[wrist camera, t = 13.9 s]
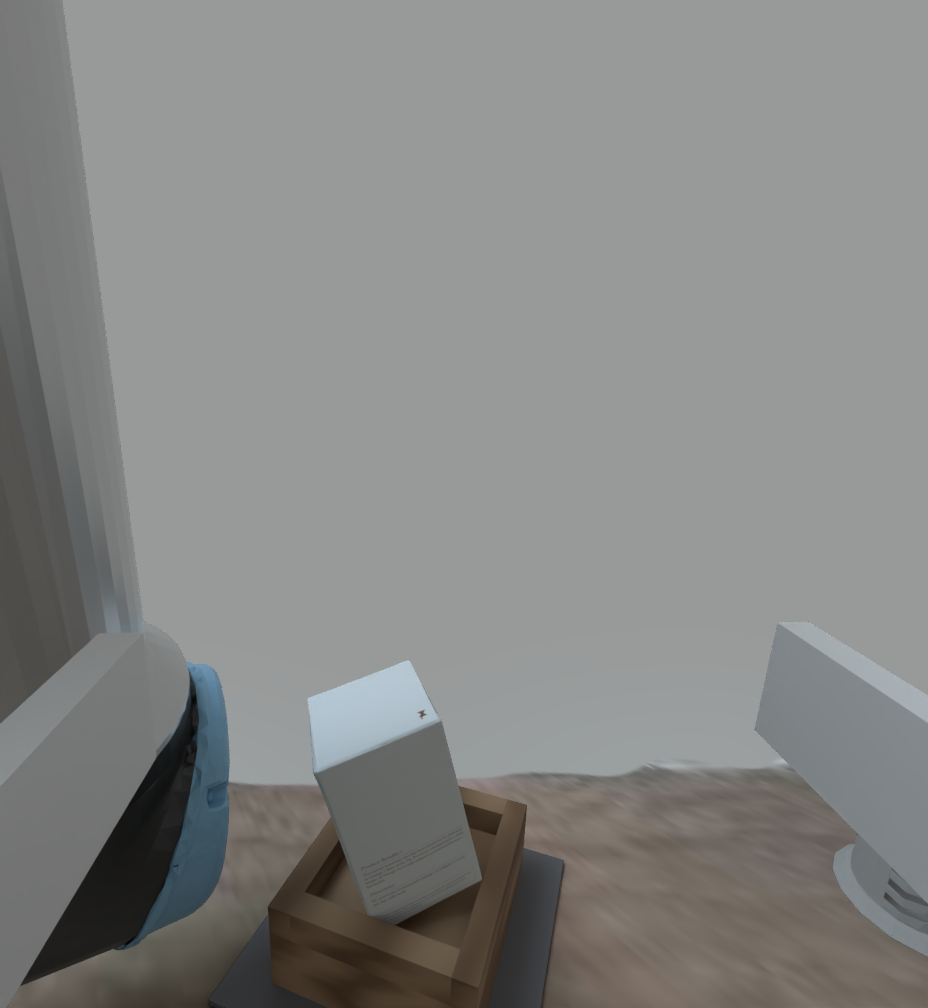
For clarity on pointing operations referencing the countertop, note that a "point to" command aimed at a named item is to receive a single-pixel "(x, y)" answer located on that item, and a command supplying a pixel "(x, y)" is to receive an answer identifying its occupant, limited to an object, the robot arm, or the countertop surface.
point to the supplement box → (392, 792)
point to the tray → (398, 925)
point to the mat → (520, 975)
